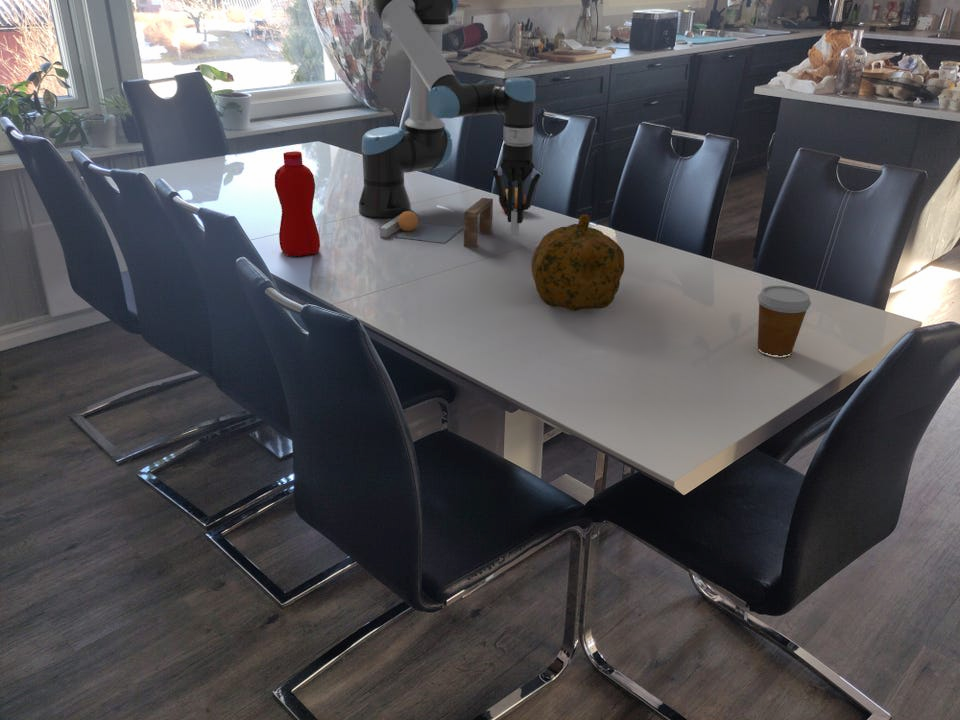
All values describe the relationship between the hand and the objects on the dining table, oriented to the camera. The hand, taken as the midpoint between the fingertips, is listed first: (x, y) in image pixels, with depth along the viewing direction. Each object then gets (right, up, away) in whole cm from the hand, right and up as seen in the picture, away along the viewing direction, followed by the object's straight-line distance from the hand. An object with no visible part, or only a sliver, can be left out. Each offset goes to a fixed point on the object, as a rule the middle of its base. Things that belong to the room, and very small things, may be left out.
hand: (514, 234), depth 217 cm
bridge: (-10, -1, +4) cm, 10 cm away
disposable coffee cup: (+48, -31, -57) cm, 80 cm away
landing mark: (-23, +2, +8) cm, 24 cm away
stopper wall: (-32, +3, +11) cm, 34 cm away
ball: (-29, +5, +8) cm, 30 cm away
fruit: (0, +11, +28) cm, 30 cm away
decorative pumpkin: (+12, -20, -35) cm, 43 cm away
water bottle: (-55, -5, -7) cm, 56 cm away
